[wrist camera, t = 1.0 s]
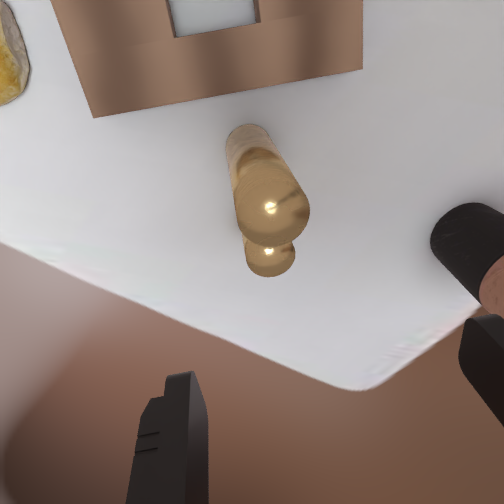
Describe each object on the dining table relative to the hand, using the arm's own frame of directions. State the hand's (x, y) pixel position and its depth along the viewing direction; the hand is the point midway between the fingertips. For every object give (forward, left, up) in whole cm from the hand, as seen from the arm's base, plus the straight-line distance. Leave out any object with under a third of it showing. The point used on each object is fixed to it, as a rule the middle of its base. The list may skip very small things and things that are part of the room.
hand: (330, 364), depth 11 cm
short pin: (0, +7, -25) cm, 26 cm away
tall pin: (0, 0, -25) cm, 25 cm away
